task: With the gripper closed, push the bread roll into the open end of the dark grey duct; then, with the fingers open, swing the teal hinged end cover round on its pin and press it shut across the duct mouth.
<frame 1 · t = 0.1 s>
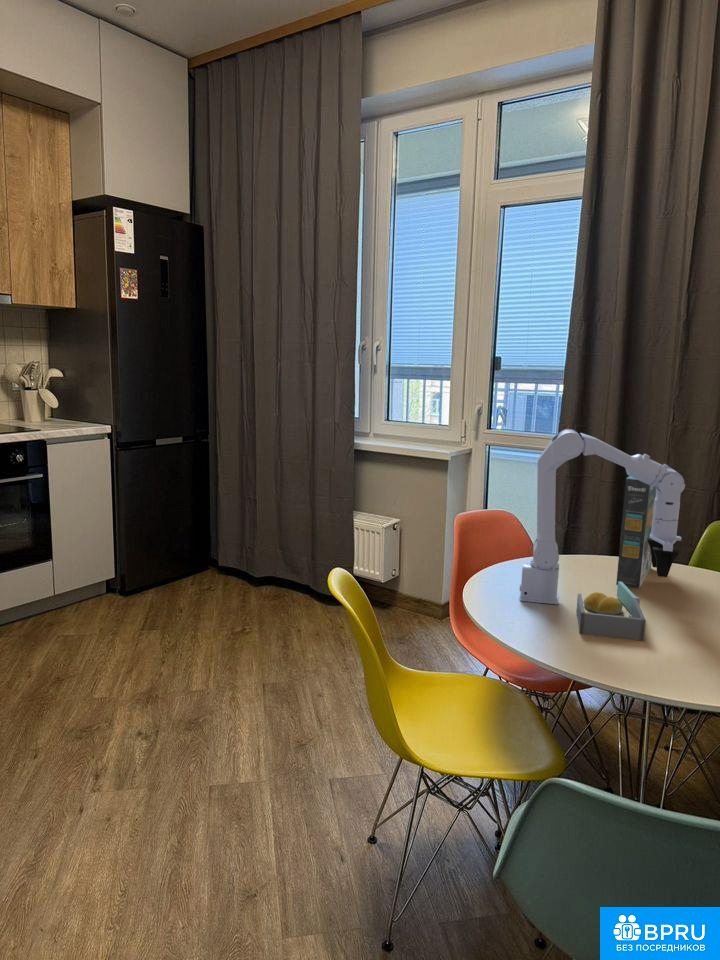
hand: (659, 571, 167), 10 cm above the table, tool pointing down, fingers open, 7 cm apart
cake mix box: (634, 576, 196), on the table
bread roll: (602, 610, 169), on the table
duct: (608, 625, 159), on the table
cover: (627, 597, 170), point 3 cm above the table, hinge at 0.0°
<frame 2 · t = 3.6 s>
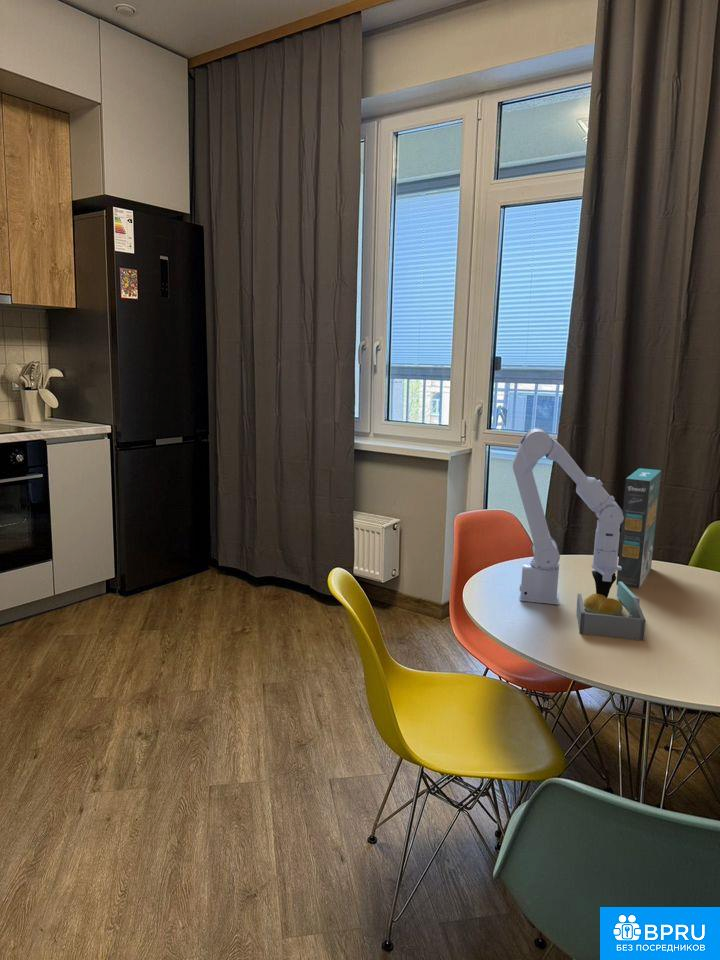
hand: (601, 600, 173), 1 cm above the table, tool pointing down, fingers closed
bread roll: (602, 612, 168), on the table, touching gripper
everything else where it was.
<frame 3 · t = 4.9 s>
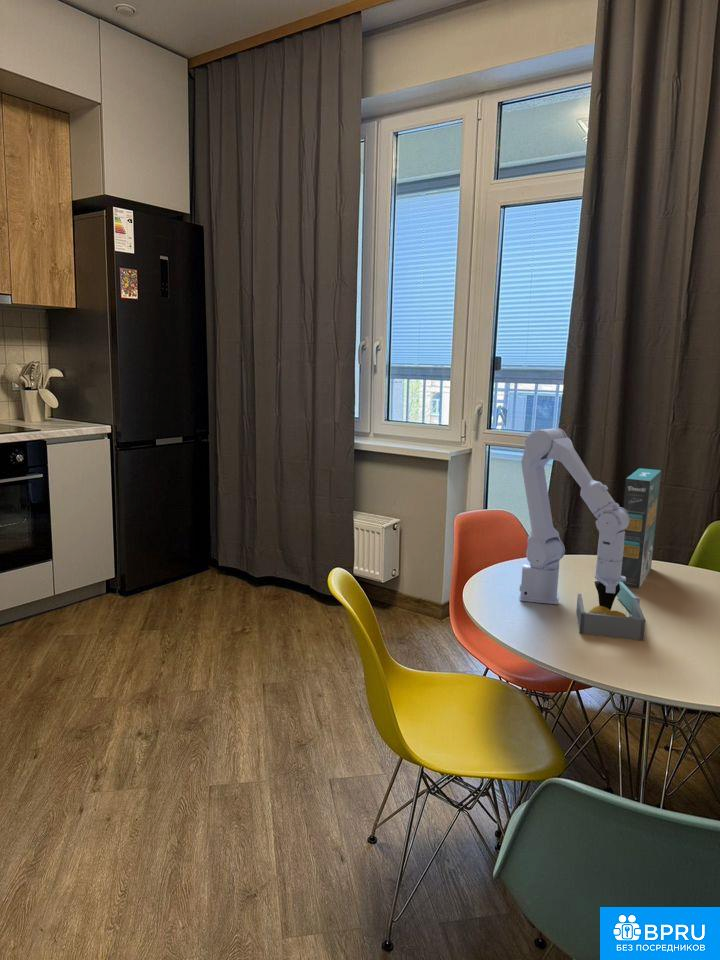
hand: (604, 612, 164), 1 cm above the table, tool pointing down, fingers closed
bread roll: (606, 625, 160), on the table, touching gripper
everything else where it was.
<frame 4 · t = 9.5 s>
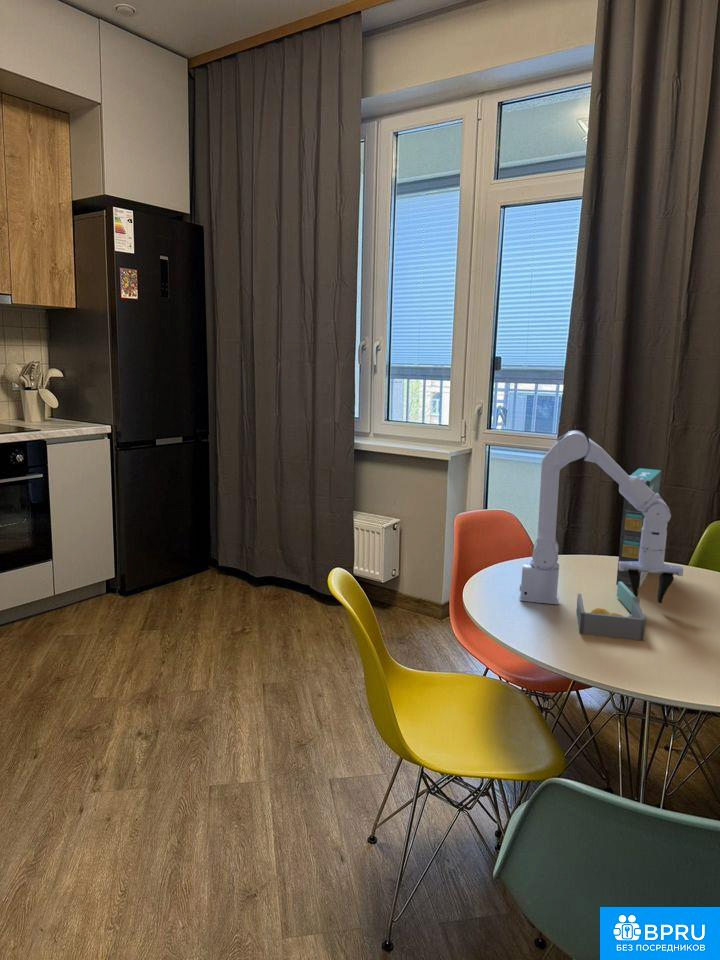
hand: (647, 600, 168), 3 cm above the table, tool pointing down, fingers open, 5 cm apart
bread roll: (605, 627, 158), on the table
cover: (627, 597, 170), point 3 cm above the table, hinge at 0.0°, touching gripper
everything else where it was.
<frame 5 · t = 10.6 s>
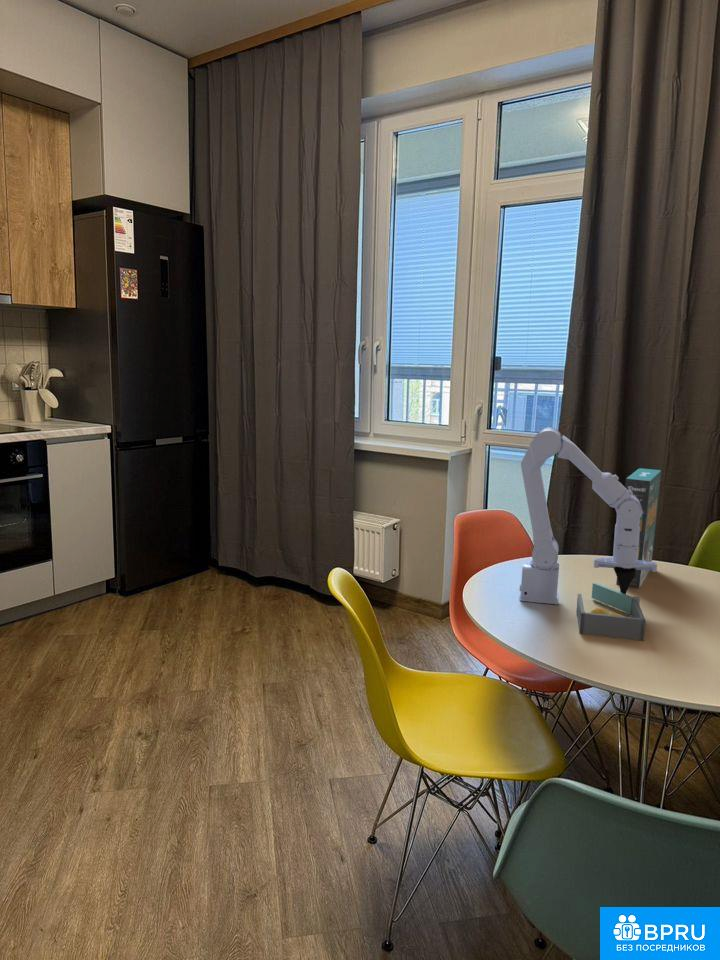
hand: (622, 596, 169), 3 cm above the table, tool pointing down, fingers closed
cover: (615, 598, 169), point 3 cm above the table, hinge at 32.4°, touching gripper
everything else where it was.
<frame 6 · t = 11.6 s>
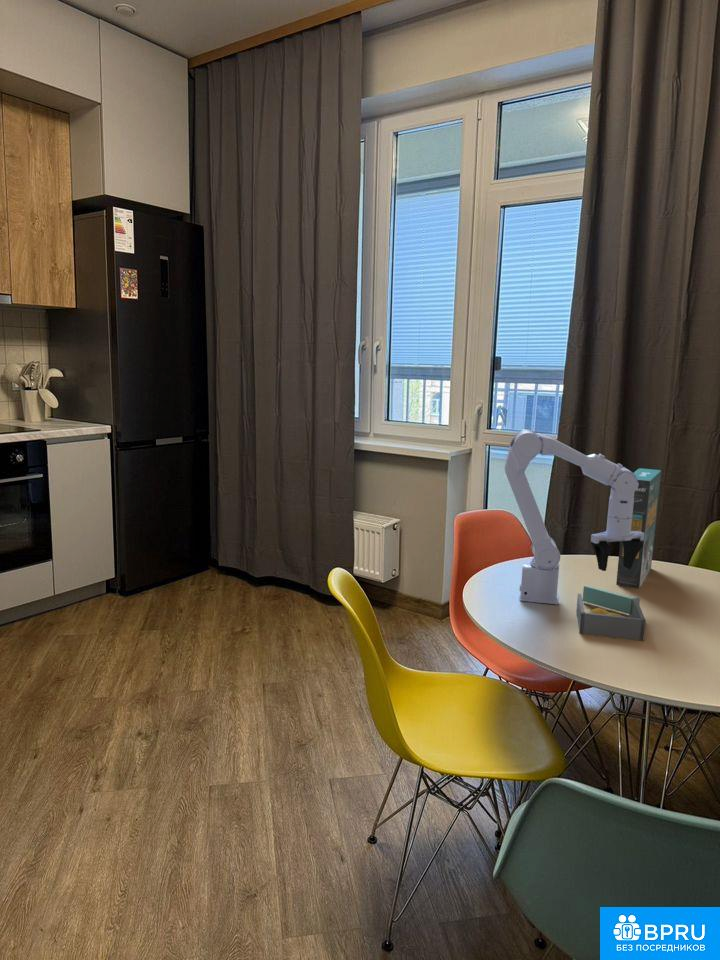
hand: (614, 568, 171), 9 cm above the table, tool pointing down, fingers open, 7 cm apart
cover: (610, 599, 168), point 3 cm above the table, hinge at 49.9°
everything else where it was.
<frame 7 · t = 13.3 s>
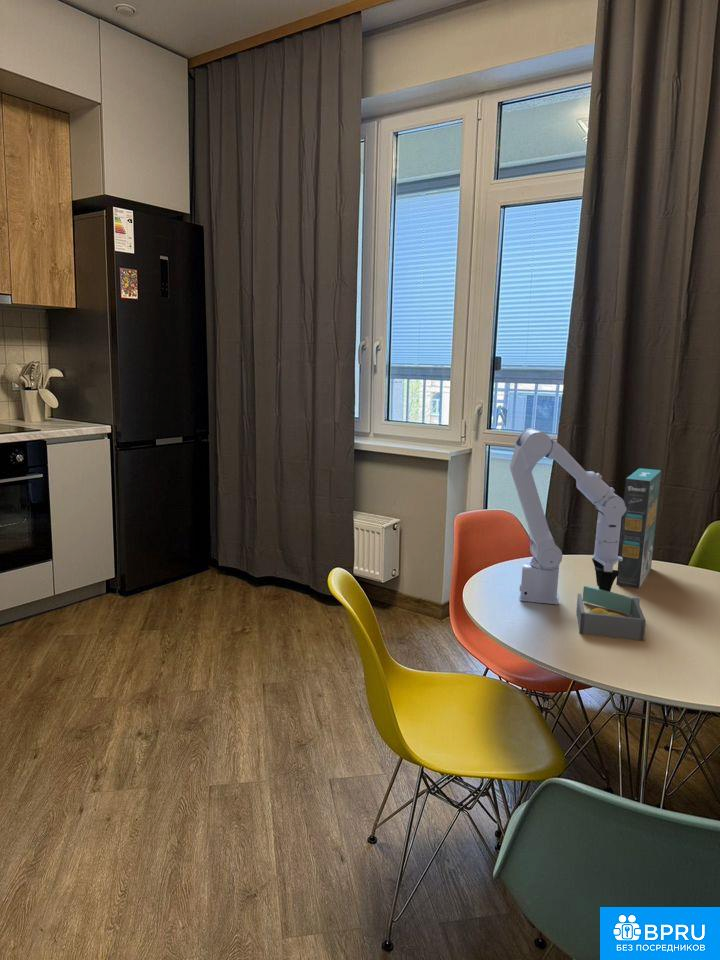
hand: (602, 590, 175), 3 cm above the table, tool pointing down, fingers open, 7 cm apart
cover: (610, 599, 168), point 3 cm above the table, hinge at 49.9°, touching gripper
everything else where it was.
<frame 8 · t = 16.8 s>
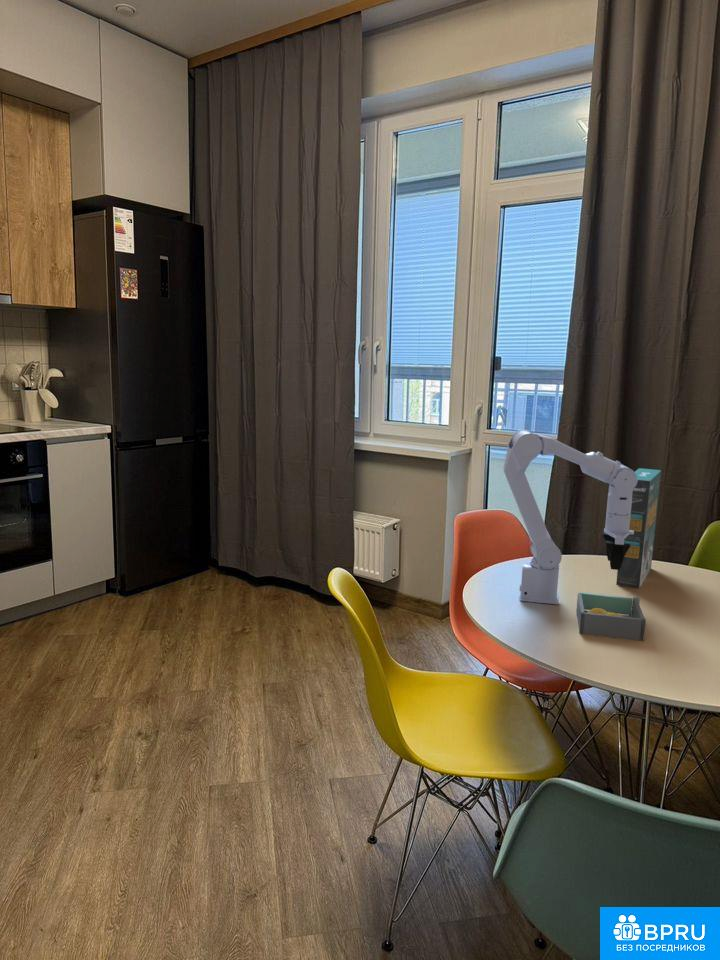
hand: (613, 564, 173), 10 cm above the table, tool pointing down, fingers open, 7 cm apart
cover: (608, 603, 166), point 3 cm above the table, hinge at 76.5°
everything else where it was.
at the end: bread roll inside the target area (1.9 cm from its centre), on the table; cover at +76° (first picture: +0°); bread roll touching table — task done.
